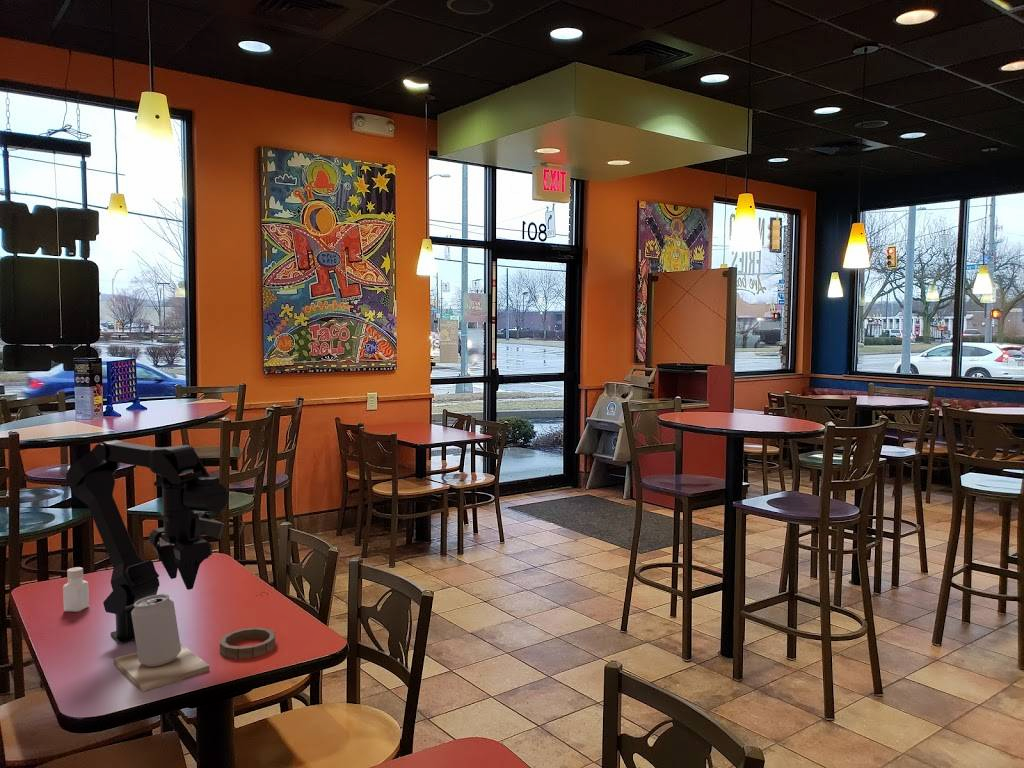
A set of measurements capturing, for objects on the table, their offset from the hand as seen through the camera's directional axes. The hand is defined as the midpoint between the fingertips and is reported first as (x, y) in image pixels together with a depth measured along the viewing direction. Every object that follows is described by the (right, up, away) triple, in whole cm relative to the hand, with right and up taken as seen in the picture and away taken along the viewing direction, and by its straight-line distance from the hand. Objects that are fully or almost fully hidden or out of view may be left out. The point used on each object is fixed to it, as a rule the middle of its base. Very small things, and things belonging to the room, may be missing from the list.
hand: (181, 583), depth 153 cm
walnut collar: (+13, -13, 0) cm, 19 cm away
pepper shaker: (-34, -12, +21) cm, 42 cm away
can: (0, -12, -9) cm, 15 cm away
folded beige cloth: (0, -14, -9) cm, 16 cm away
